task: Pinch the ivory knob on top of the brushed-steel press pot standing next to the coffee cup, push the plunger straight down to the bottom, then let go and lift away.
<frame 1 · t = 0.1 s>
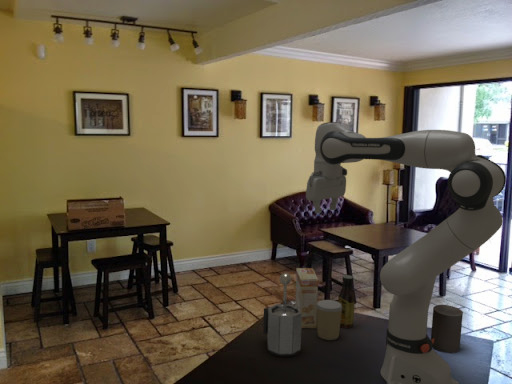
hand: (325, 211, 153), 48 cm above the table, fingers open, 8 cm apart
coffeecake box: (305, 321, 179), on the table
sauce bottle: (345, 326, 175), on the table
press pot: (283, 349, 155), on the table
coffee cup: (328, 335, 166), on the table
pillar candle: (445, 347, 158), on the table
plunger: (285, 293, 152), point 20 cm above the table, slide at 0.0 cm
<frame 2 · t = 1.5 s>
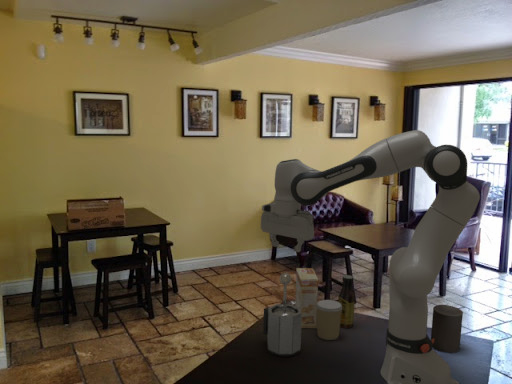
hand: (286, 248, 150), 35 cm above the table, fingers open, 8 cm apart
nothing on the table moved.
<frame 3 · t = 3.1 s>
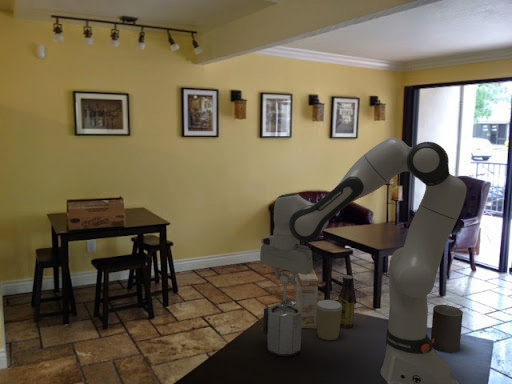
hand: (285, 281, 152), 24 cm above the table, fingers closed on plunger, 4 cm apart
plunger: (285, 293, 152), point 20 cm above the table, slide at 0.0 cm, touching gripper
everything else where it was.
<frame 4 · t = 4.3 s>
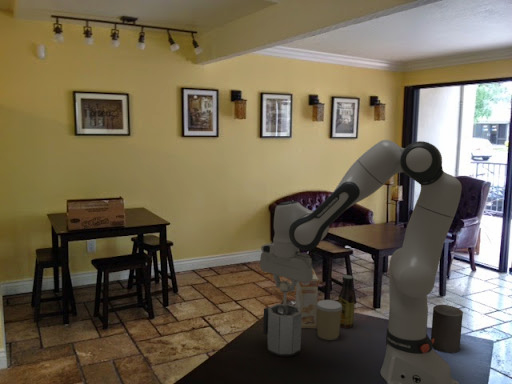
hand: (285, 289, 152), 21 cm above the table, fingers closed on plunger, 4 cm apart
plunger: (284, 301, 153), point 17 cm above the table, slide at 2.6 cm, touching gripper
everything else where it was.
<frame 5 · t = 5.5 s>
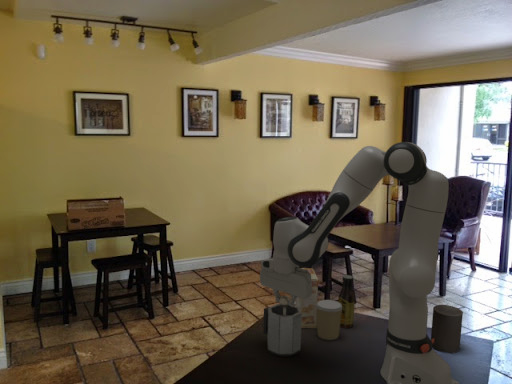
hand: (284, 304, 153), 16 cm above the table, fingers closed on plunger, 4 cm apart
plunger: (284, 316, 153), point 12 cm above the table, slide at 7.9 cm, touching gripper
everything else where it was.
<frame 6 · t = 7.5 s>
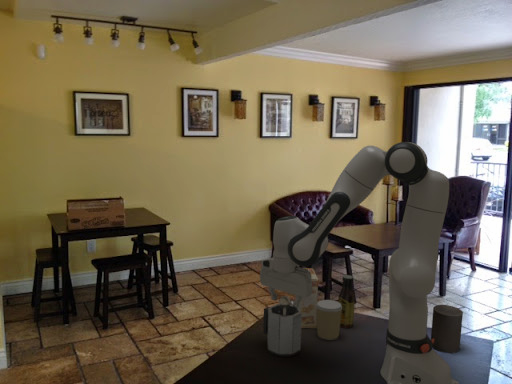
hand: (285, 303, 153), 16 cm above the table, fingers open, 8 cm apart
plunger: (284, 316, 153), point 12 cm above the table, slide at 8.0 cm
everything else where it was.
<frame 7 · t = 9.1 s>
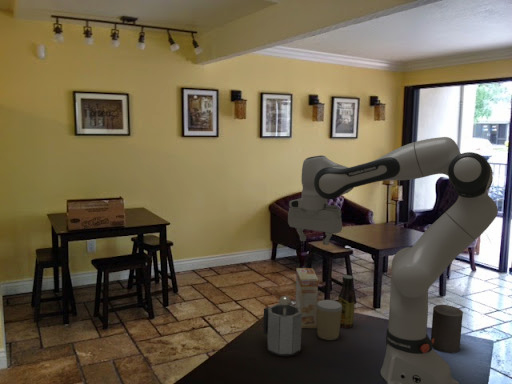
hand: (314, 242, 155), 36 cm above the table, fingers open, 8 cm apart
nothing on the table moved.
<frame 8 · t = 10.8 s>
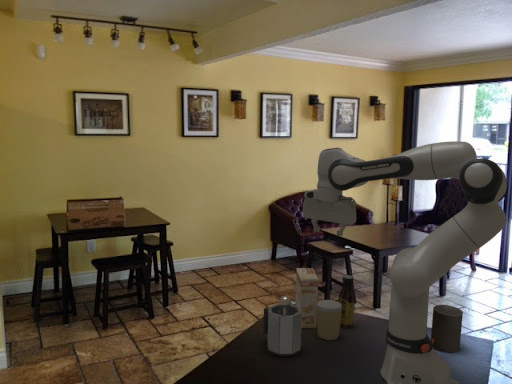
hand: (328, 233, 158), 39 cm above the table, fingers open, 8 cm apart
nothing on the table moved.
at the end: plunger slide at 8.0 cm; the gripper is holding nothing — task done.
